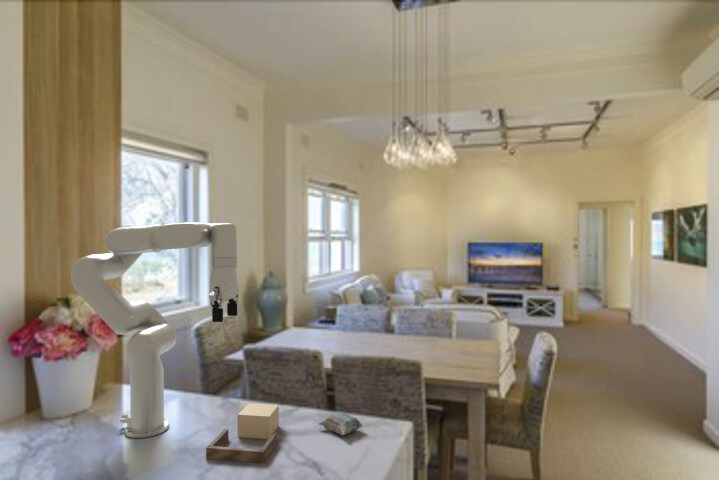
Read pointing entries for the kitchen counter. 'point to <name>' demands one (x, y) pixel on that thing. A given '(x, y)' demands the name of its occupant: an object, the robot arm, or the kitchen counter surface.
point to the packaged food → (341, 423)
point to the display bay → (239, 450)
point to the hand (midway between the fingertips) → (225, 318)
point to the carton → (258, 421)
